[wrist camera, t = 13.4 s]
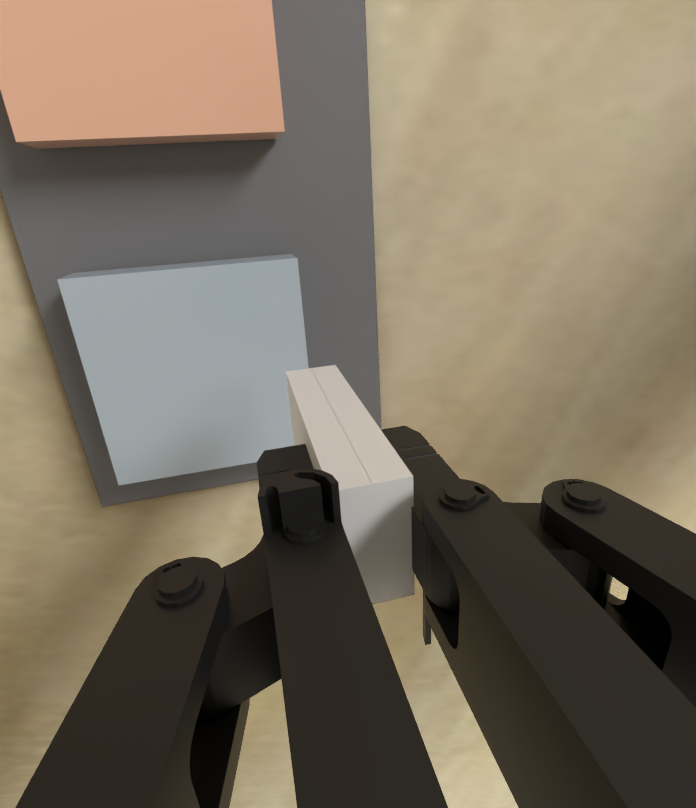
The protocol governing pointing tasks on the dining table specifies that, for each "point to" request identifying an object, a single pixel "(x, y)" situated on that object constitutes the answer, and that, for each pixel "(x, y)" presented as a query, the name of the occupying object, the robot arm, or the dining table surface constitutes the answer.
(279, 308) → the slate tile
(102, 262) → the mat
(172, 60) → the terracotta tile
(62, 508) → the dining table surface
